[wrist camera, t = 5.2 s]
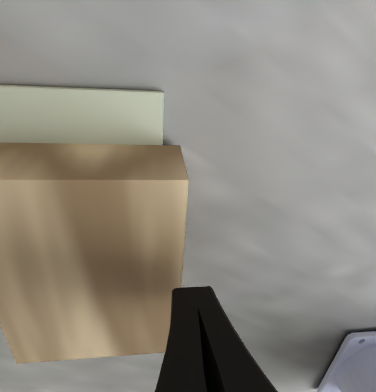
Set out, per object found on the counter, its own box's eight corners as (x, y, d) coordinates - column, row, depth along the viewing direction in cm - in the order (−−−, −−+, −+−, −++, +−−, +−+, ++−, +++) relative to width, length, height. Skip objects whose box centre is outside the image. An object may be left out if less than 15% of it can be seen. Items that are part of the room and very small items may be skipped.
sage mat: (163, 91, 11) (163, 92, 10) (159, 318, 17) (159, 322, 17) (-77, 81, 10) (-83, 83, 9) (16, 327, 16) (14, 332, 16)
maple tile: (188, 179, 9) (-61, 179, 8) (176, 351, 13) (16, 363, 13) (179, 145, 12) (-10, 142, 11) (172, 299, 16) (39, 306, 15)
